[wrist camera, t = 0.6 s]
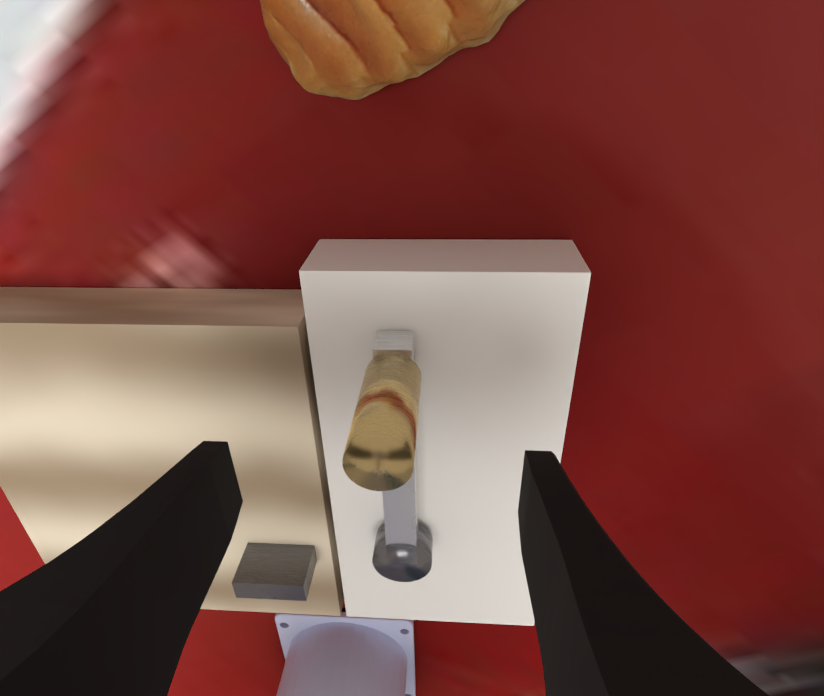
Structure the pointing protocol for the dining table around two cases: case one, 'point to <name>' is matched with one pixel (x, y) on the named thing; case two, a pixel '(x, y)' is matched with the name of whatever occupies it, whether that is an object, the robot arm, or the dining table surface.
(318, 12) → the pastry
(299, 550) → the block
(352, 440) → the bar
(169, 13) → the dining table surface
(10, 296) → the slab
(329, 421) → the frame slab
